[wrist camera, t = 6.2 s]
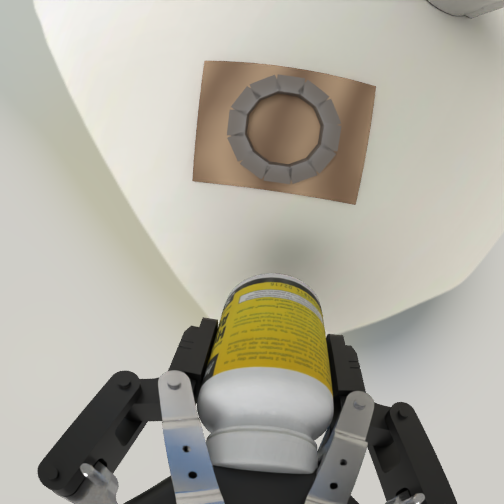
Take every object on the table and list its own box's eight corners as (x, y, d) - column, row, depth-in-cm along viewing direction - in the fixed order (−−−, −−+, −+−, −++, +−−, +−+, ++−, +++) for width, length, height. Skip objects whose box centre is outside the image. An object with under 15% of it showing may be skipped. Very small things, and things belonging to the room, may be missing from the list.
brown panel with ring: (372, 87, 22) (383, 84, 19) (352, 202, 27) (361, 210, 24) (207, 62, 22) (199, 56, 19) (195, 179, 27) (186, 185, 25)
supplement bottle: (219, 269, 15) (156, 440, 6) (323, 268, 14) (360, 449, 6) (229, 344, 17) (197, 490, 8) (316, 344, 17) (327, 495, 8)
